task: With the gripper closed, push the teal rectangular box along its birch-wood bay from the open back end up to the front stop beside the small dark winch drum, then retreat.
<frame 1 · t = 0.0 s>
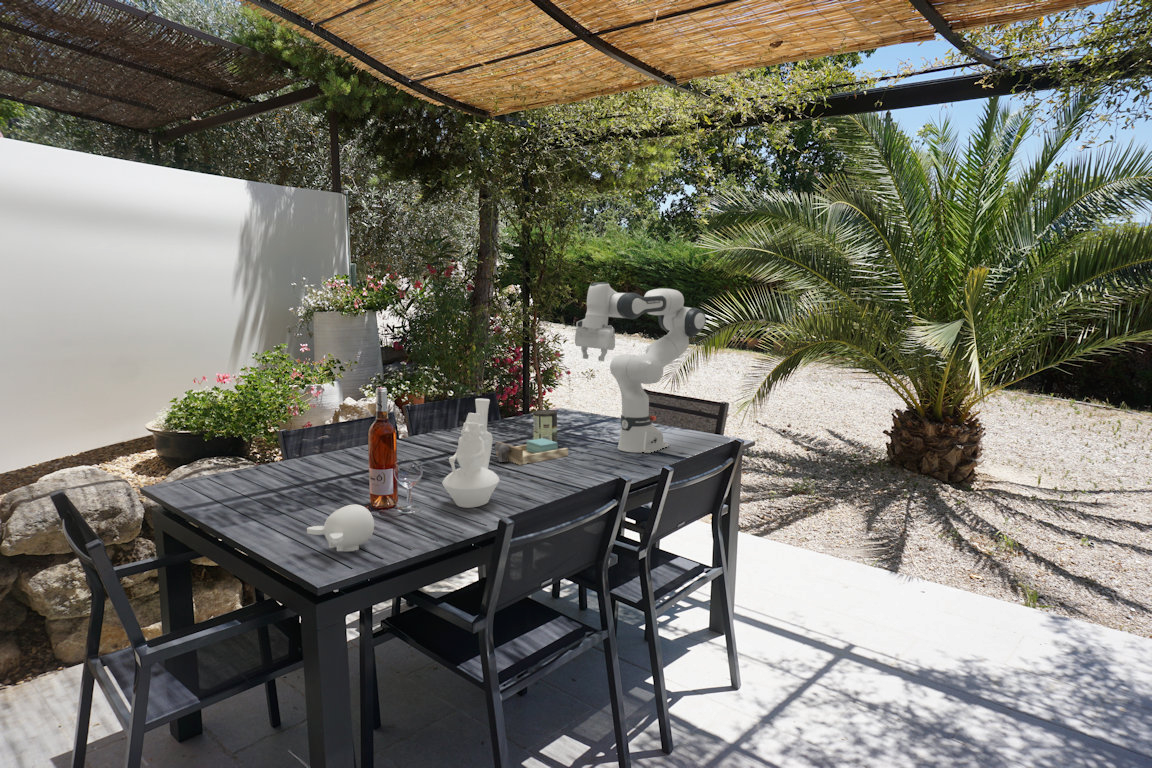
hand: (593, 359, 278), 39 cm above the table, tool pointing down, fingers open, 8 cm apart
piggy bank: (342, 550, 187), on the table
bay: (533, 456, 285), on the table
white sculpted vase: (475, 502, 227), on the table
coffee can: (545, 444, 306), on the table
teal rectangular box: (542, 446, 287), point 3 cm above the table, slide at 0.0 cm
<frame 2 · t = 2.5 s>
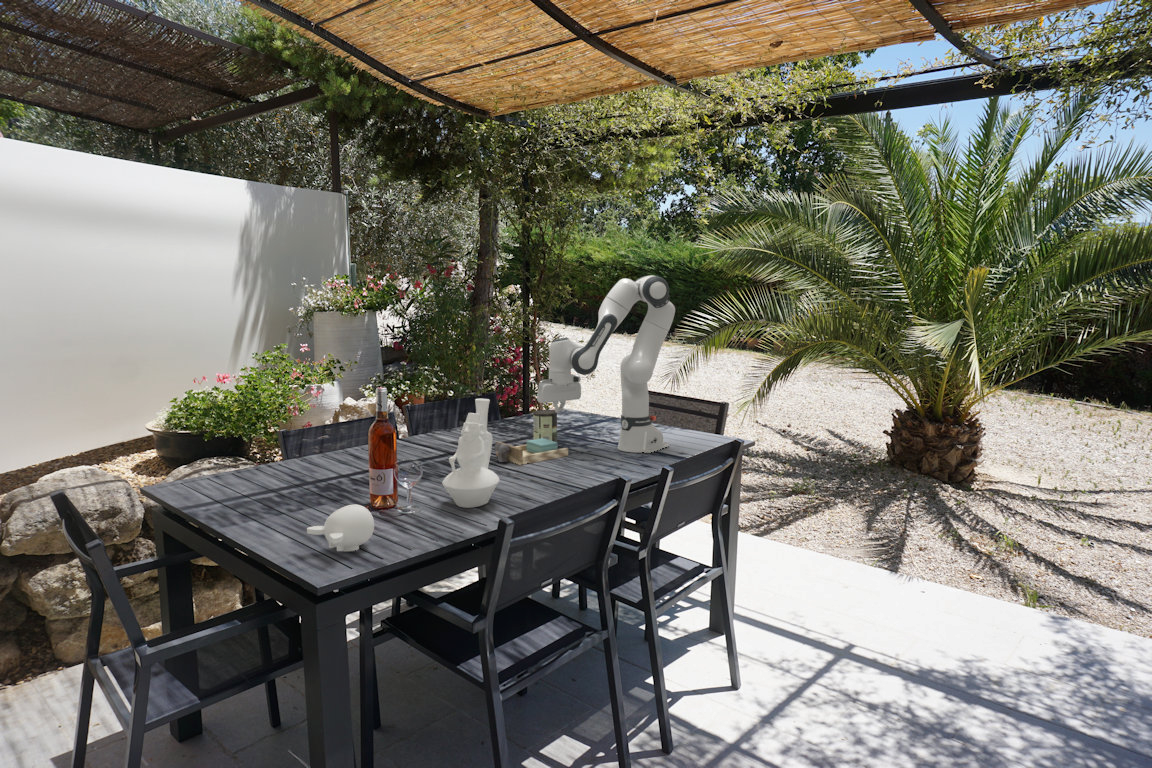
hand: (558, 412, 291), 16 cm above the table, tool pointing down, fingers closed
nothing on the table moved.
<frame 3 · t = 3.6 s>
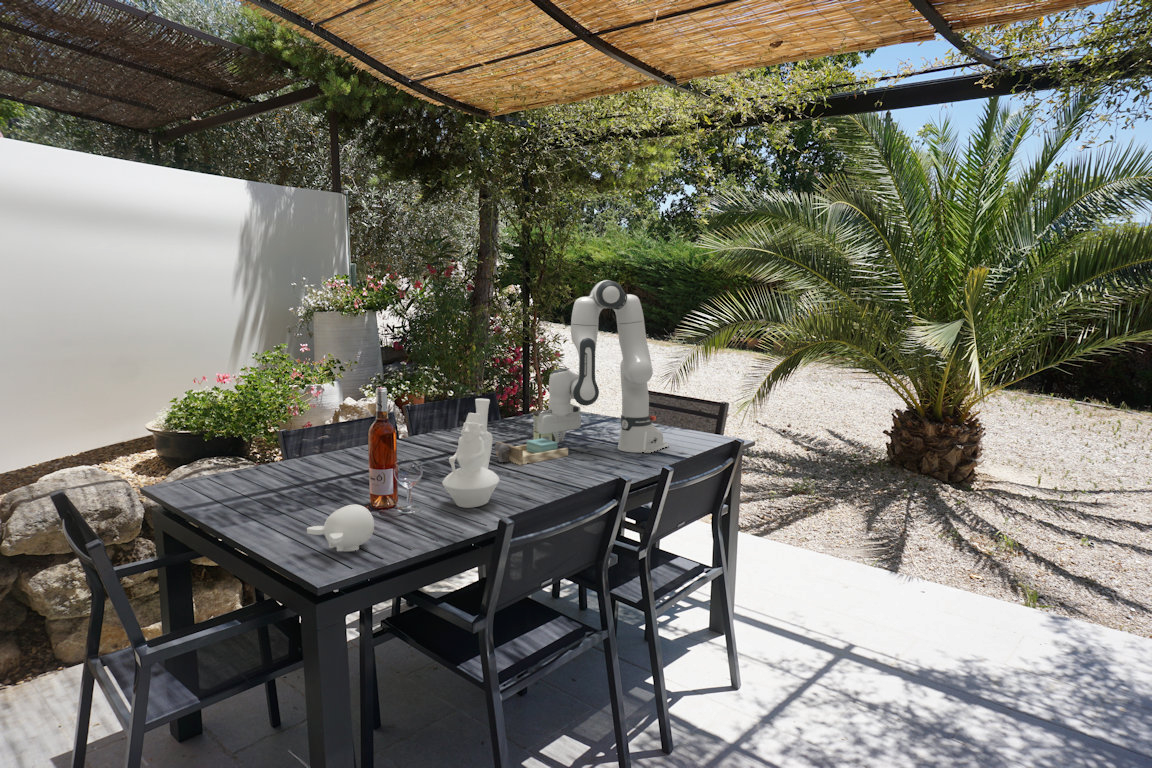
hand: (559, 441, 293), 4 cm above the table, tool pointing down, fingers closed
nothing on the table moved.
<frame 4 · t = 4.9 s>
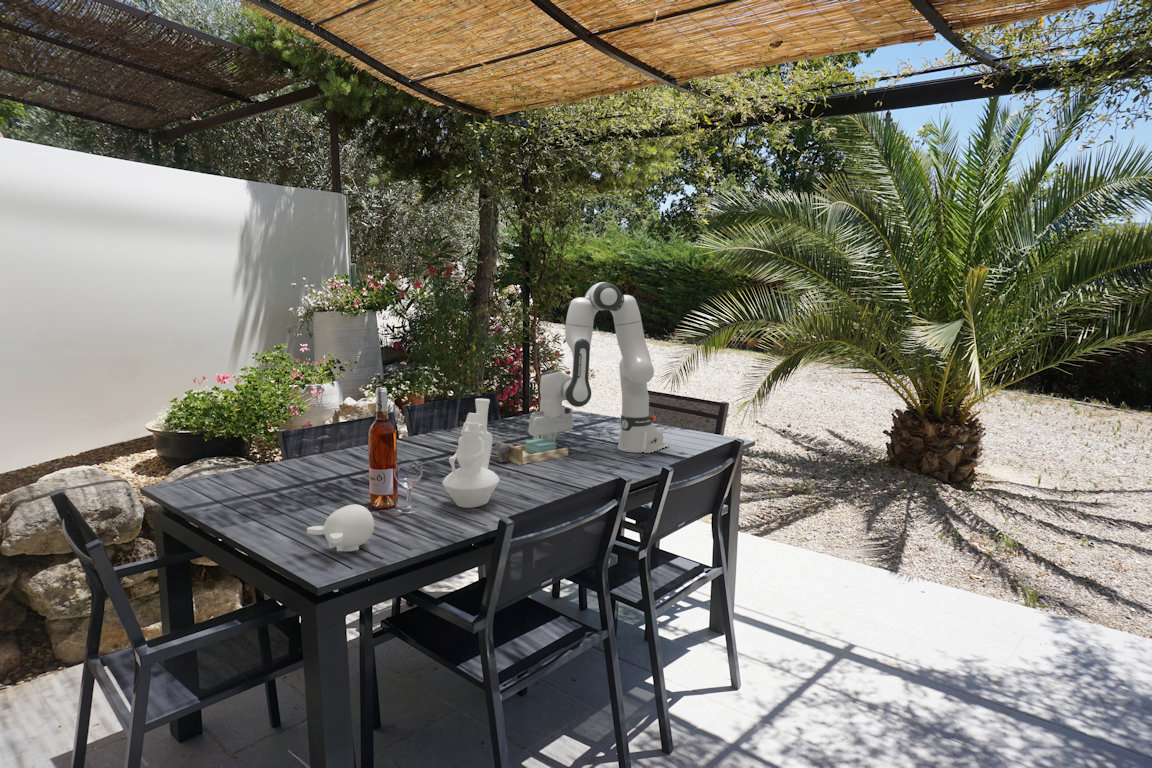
hand: (550, 443, 290), 4 cm above the table, tool pointing down, fingers closed
teal rectangular box: (540, 446, 286), point 3 cm above the table, slide at 0.9 cm, touching gripper
everything else where it was.
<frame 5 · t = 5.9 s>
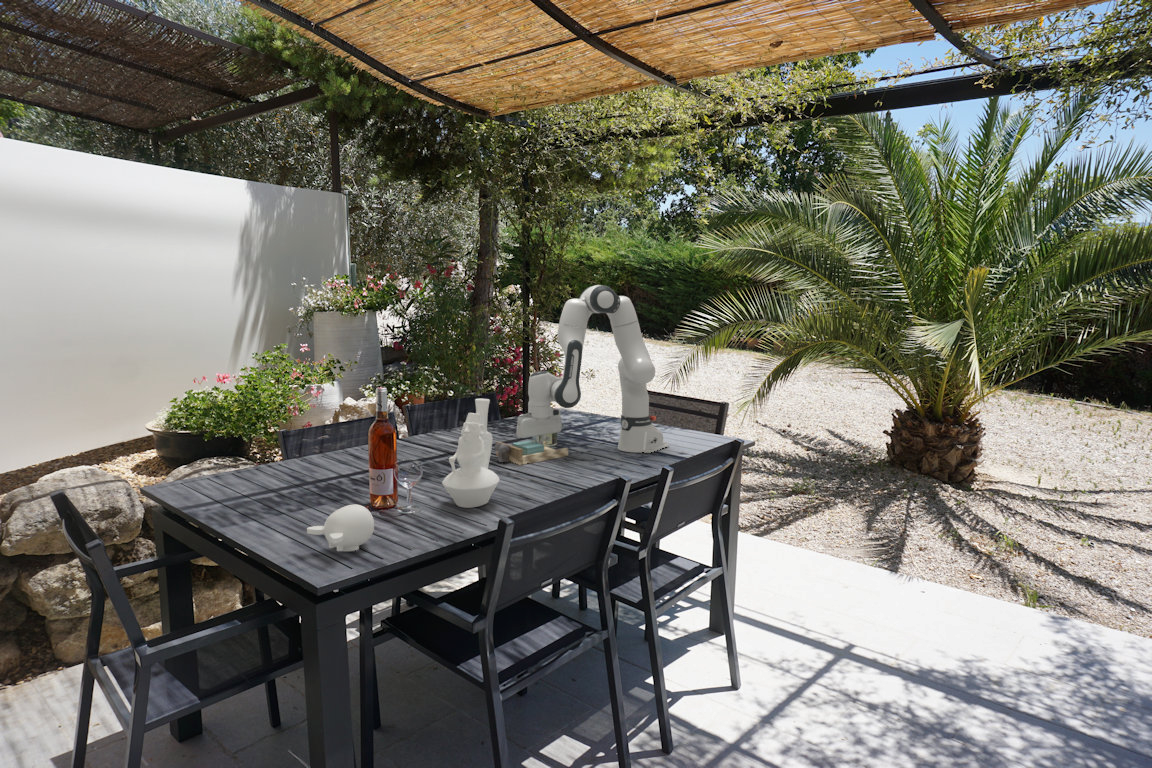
hand: (539, 445, 286), 4 cm above the table, tool pointing down, fingers closed
teal rectangular box: (528, 449, 283), point 3 cm above the table, slide at 6.8 cm, touching gripper
everything else where it was.
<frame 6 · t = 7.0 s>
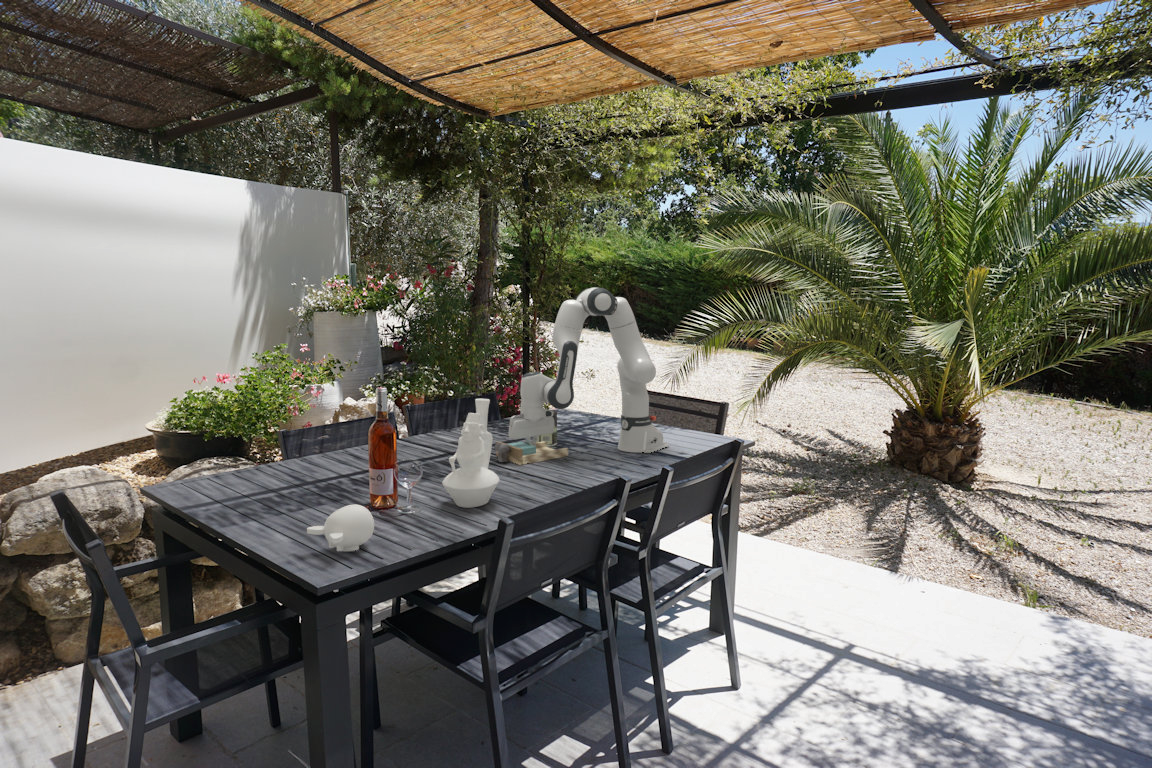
hand: (531, 447, 284), 4 cm above the table, tool pointing down, fingers closed
teal rectangular box: (520, 450, 280), point 3 cm above the table, slide at 10.5 cm, touching gripper
everything else where it was.
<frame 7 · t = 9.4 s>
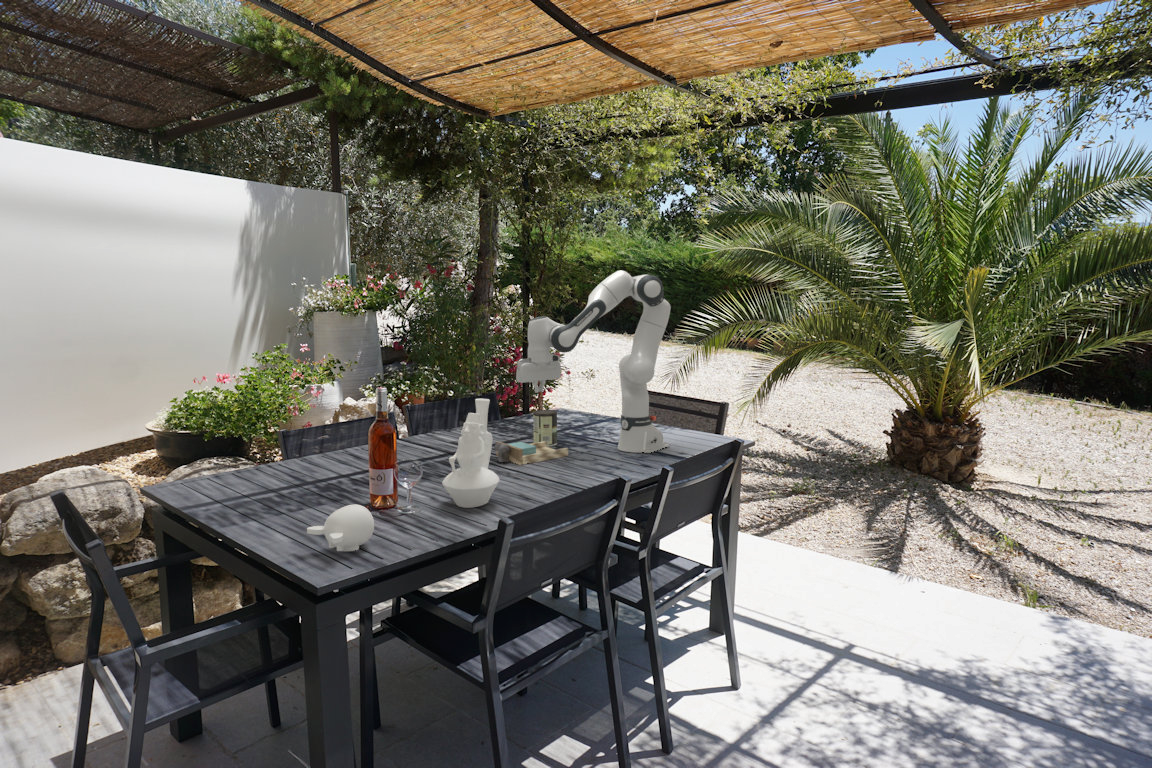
hand: (538, 391, 287), 25 cm above the table, tool pointing down, fingers closed
teal rectangular box: (520, 450, 280), point 3 cm above the table, slide at 10.5 cm
everything else where it was.
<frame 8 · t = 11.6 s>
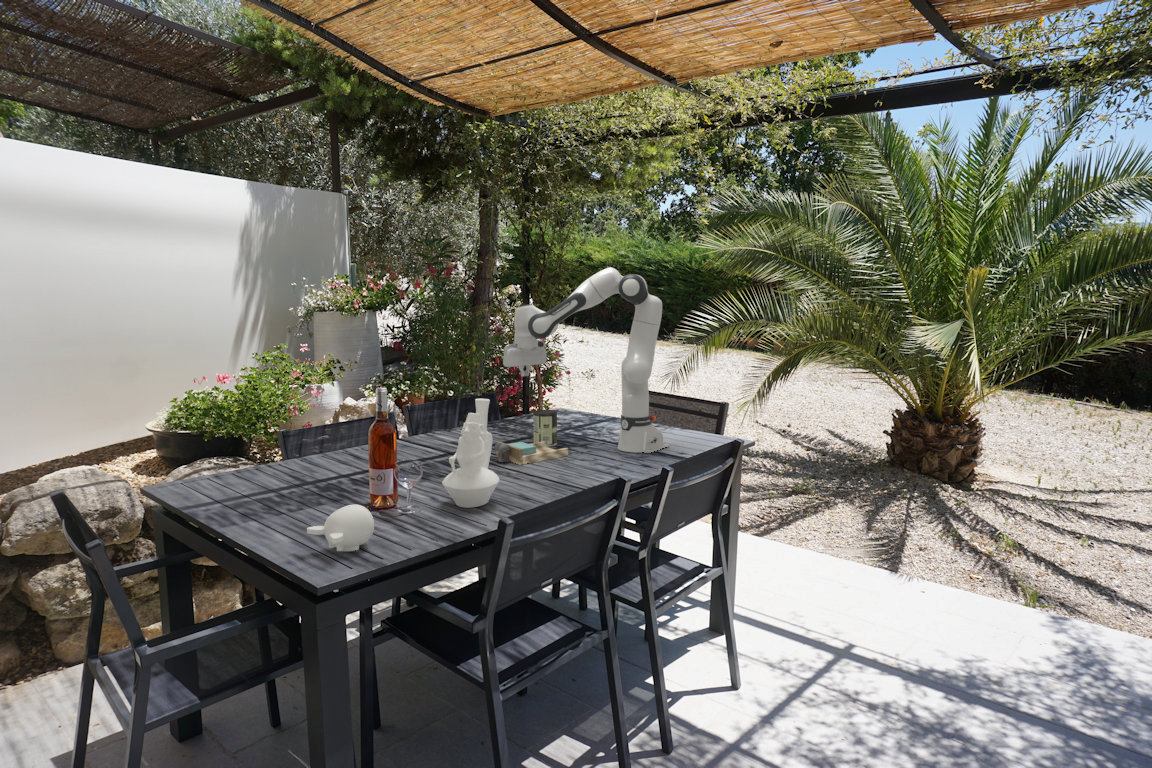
hand: (525, 376, 302), 29 cm above the table, tool pointing down, fingers closed
nothing on the table moved.
at the end: teal rectangular box slide at 10.5 cm; teal rectangular box touching nothing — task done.
